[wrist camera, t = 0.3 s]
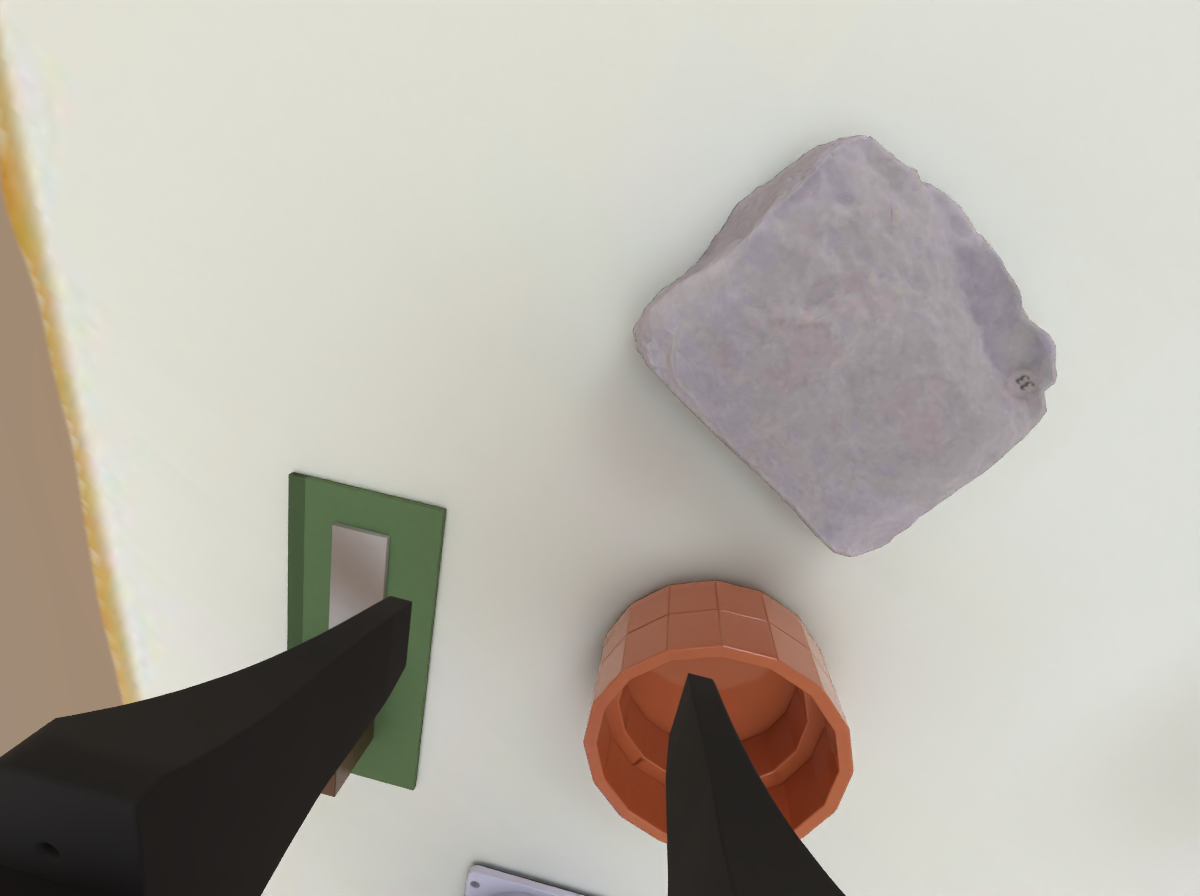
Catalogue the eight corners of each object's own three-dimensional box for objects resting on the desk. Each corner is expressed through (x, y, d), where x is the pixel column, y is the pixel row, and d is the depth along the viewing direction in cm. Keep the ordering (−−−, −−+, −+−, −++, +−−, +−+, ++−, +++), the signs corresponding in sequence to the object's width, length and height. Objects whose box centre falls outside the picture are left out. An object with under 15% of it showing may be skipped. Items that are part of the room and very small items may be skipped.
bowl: (783, 776, 26) (804, 882, 22) (585, 723, 27) (565, 815, 22) (850, 606, 23) (892, 687, 18) (625, 551, 24) (612, 617, 19)
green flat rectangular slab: (415, 785, 30) (413, 791, 29) (290, 750, 30) (286, 755, 30) (446, 508, 24) (443, 511, 24) (293, 471, 25) (288, 474, 24)
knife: (375, 739, 29) (336, 798, 25) (328, 726, 29) (283, 783, 26) (390, 535, 25) (347, 574, 22) (336, 522, 25) (285, 559, 22)
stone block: (802, 132, 20) (608, 341, 21) (871, 65, 15) (615, 340, 16) (1010, 364, 21) (821, 545, 23) (1131, 369, 17) (883, 598, 18)
